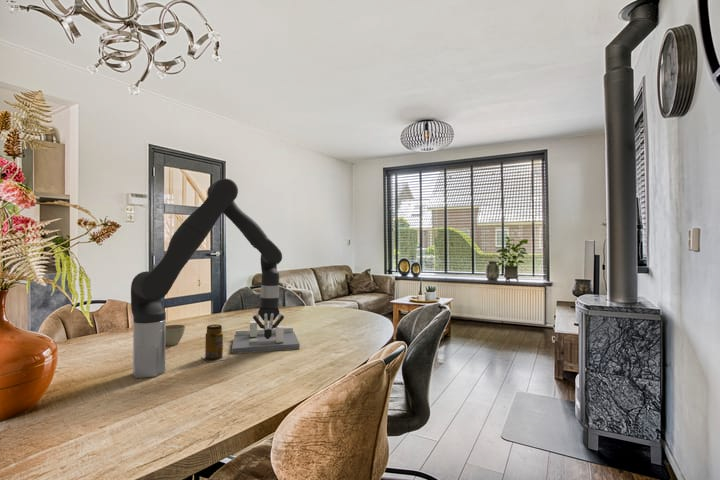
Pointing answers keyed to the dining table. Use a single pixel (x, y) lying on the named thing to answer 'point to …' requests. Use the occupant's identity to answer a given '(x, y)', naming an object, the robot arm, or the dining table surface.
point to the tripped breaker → (279, 334)
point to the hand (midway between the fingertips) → (267, 338)
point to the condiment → (214, 344)
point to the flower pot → (174, 334)
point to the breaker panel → (263, 341)
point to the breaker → (253, 329)
